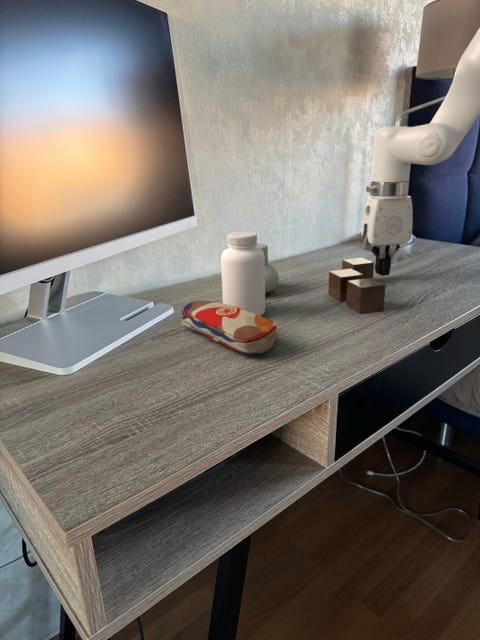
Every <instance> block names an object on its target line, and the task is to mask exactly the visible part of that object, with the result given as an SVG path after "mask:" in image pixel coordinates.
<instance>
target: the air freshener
mask: <svg viewBox="0 0 480 640" xmlns="http://www.w3.org/2000/svg"><path fill="white" fill-rule="evenodd" d="M256 243H257V245H256V247H257V248H259V249H261V250H262V251H263V253H264V256H265V294H267V293H269V292H272V291H274V290H275V289H276V288H277V287H278V285H279V283H280V276H279V273H278V270H277V269H276V267H274V266H273V265H271V264H270V263H269V248H268V247H269V246H268V245H267V244H265V243H259V242H256Z"/></svg>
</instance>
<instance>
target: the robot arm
mask: <svg viewBox="0 0 480 640" xmlns="http://www.w3.org/2000/svg"><path fill="white" fill-rule="evenodd" d="M479 116H480V27H479V28H478V30H477V31H476V33H475V34H474V36H473V38H472V39H471V41H470V42H469V44H468V46H467V47H466V49H465V50H464V52H463V53H462V55H461V57H460V59H459V61H458V63H457V66H456V69H455V72H454V76H453V80H452V82H451V85H450V87H449V90H448V92H447V93H446V96H445V98H444V99H443V101H442V102H441V105H440V106H439V108H438V110H437V111H436V113H435V114H434V116H433V118H432V119H431V121H430V122H429V123H426V124H421V125H415V126H406V125H405V126H385V127H380V128H379V129H377V130H376V132H375V133H374V141H373V155H372V168H371V169H372V170H371V182H370V185H367V186H366V188H365V192H366V193H369V197H367V200H366V203H365V208H364V212H363V217H362V224H361V241H362V245H361V250H363V251H366V252H371V253H372V255H373V256H374V257H375V261H374V271H375V274H377V275H379V276H382V277H384V276H390V273H391V267H392V258H394V257H395V254H396V253H397V251H398V250H399V249H402V248H404V247H407V246H408V243H409V242H410V241H411V240H412V235H413V223H414V222H413V221H414V220H413V219H414V218H413V215H414V214H413V211H414V210H413V202H412V196H411V195H409V187H410V175H411V174H410V173H411V164H414V165H421V166H433V165H436V164H440V163H442V162H444V161H446V160H448V159H449V158H450V157H451V156H452V155H453V154H454V152H455V151H456V150H457V148H458V147H459V145H460V144H461V142H462V141H463V139H464V138H465V137H466V135H467V134H468V132H469V131H470V129H471V128H472V127H473V125H474V123H475V122H476V121H477V119H478V117H479Z"/></svg>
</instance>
